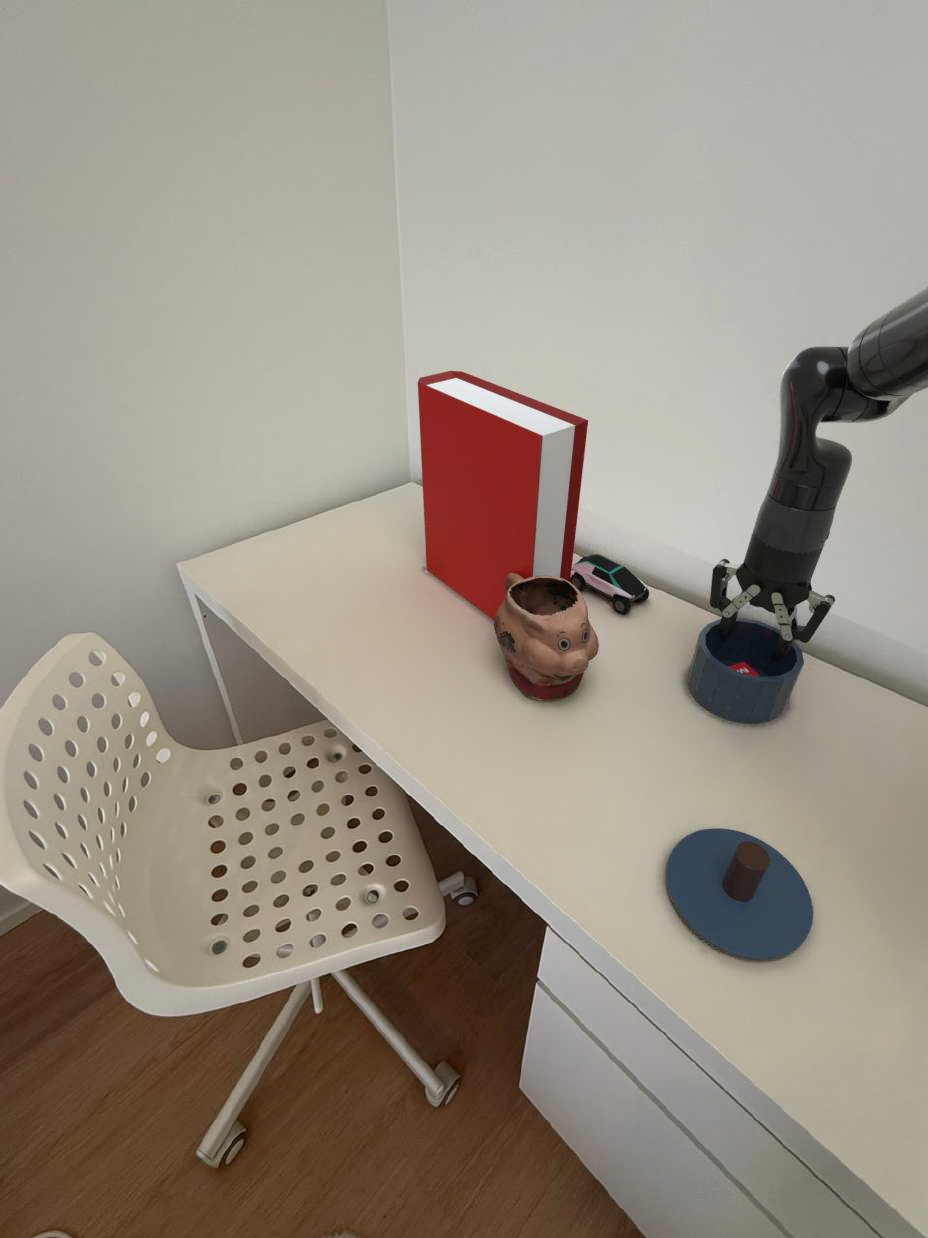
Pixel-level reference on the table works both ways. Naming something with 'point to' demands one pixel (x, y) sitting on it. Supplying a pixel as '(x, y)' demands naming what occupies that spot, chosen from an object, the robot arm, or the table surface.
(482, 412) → the book
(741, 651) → the tin
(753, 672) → the dice
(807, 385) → the robot arm
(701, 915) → the lid
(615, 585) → the toy car
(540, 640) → the decorative planter
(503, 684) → the table surface
